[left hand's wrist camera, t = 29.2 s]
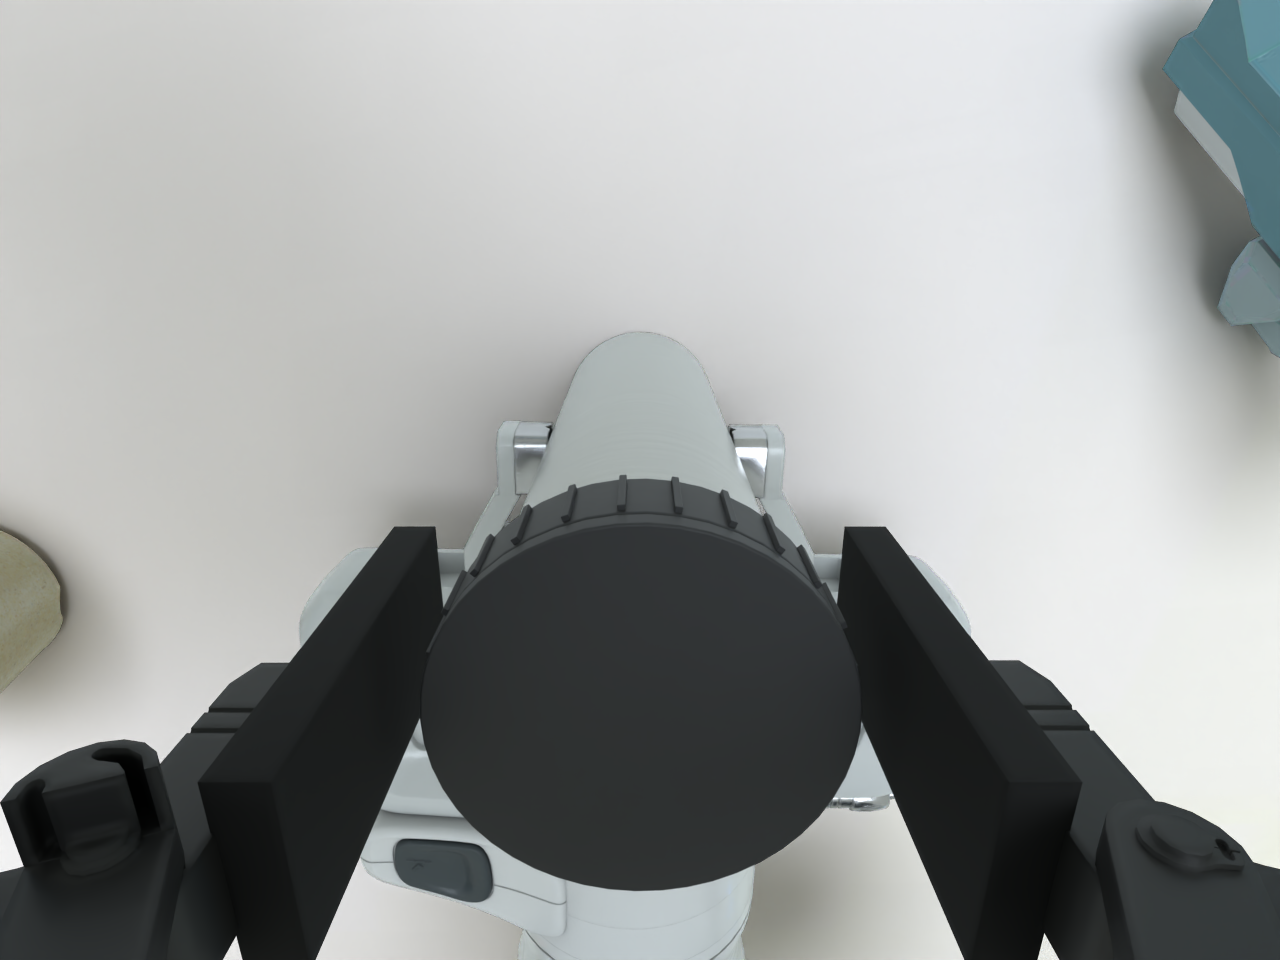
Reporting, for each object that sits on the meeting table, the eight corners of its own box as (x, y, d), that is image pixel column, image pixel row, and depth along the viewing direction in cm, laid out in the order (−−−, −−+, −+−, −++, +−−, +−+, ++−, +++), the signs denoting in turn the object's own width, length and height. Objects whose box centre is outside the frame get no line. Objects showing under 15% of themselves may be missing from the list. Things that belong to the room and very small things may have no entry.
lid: (883, 505, 11) (924, 556, 10) (787, 831, 13) (807, 918, 12) (461, 441, 11) (428, 483, 9) (432, 786, 13) (402, 869, 11)
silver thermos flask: (717, 460, 29) (820, 794, 12) (581, 477, 29) (506, 827, 13) (703, 322, 27) (801, 498, 11) (558, 342, 27) (434, 543, 11)
